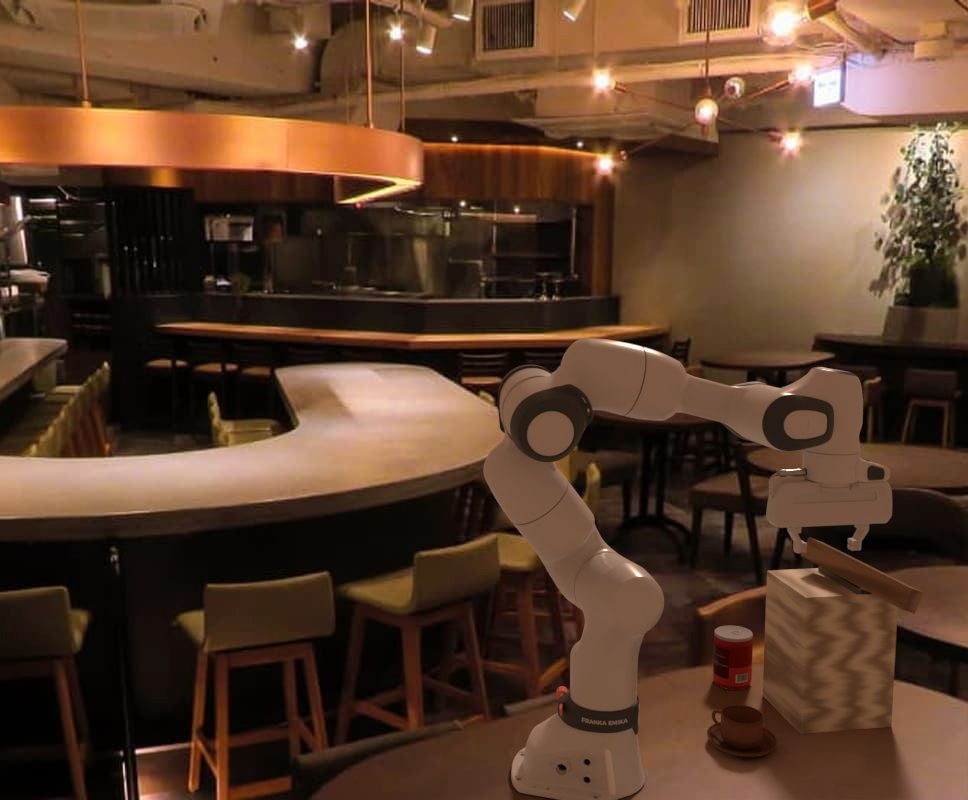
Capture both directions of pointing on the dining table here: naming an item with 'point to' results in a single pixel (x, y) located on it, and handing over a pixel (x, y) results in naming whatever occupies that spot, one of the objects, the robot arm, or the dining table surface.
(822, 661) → the zigzag patterned box
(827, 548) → the walnut block
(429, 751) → the dining table surface
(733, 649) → the canned food
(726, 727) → the cup and saucer
